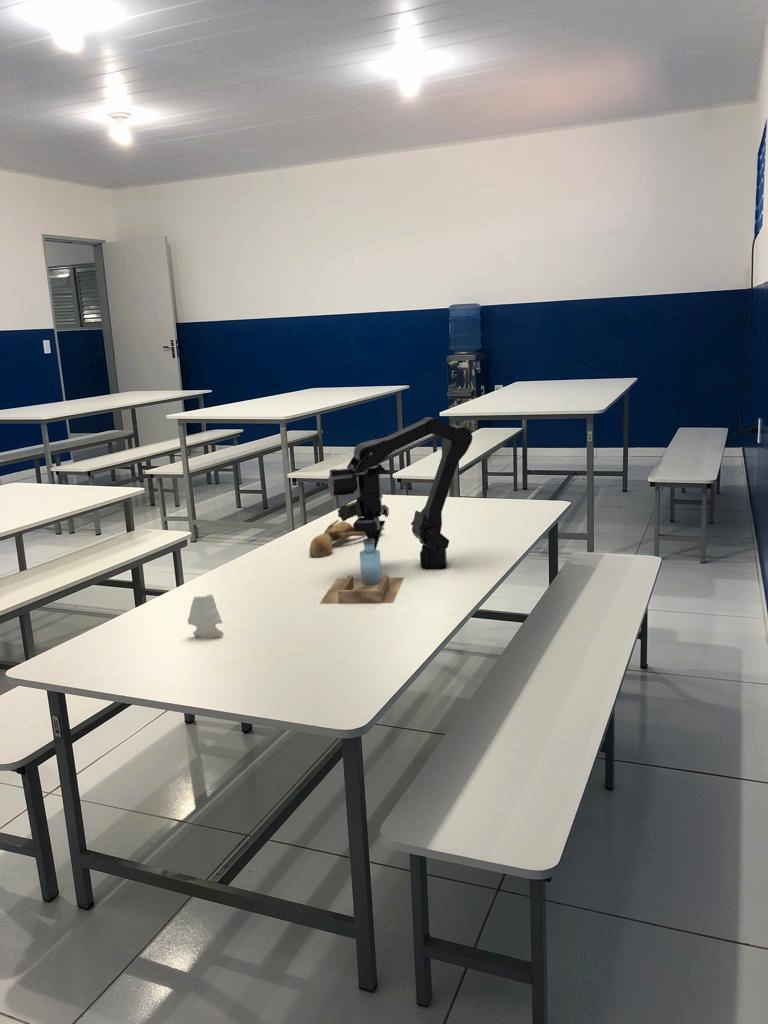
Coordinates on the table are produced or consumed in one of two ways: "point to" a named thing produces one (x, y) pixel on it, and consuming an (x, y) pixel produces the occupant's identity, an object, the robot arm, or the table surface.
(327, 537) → the toy
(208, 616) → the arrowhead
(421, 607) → the table surface
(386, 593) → the rest
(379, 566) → the bottle
